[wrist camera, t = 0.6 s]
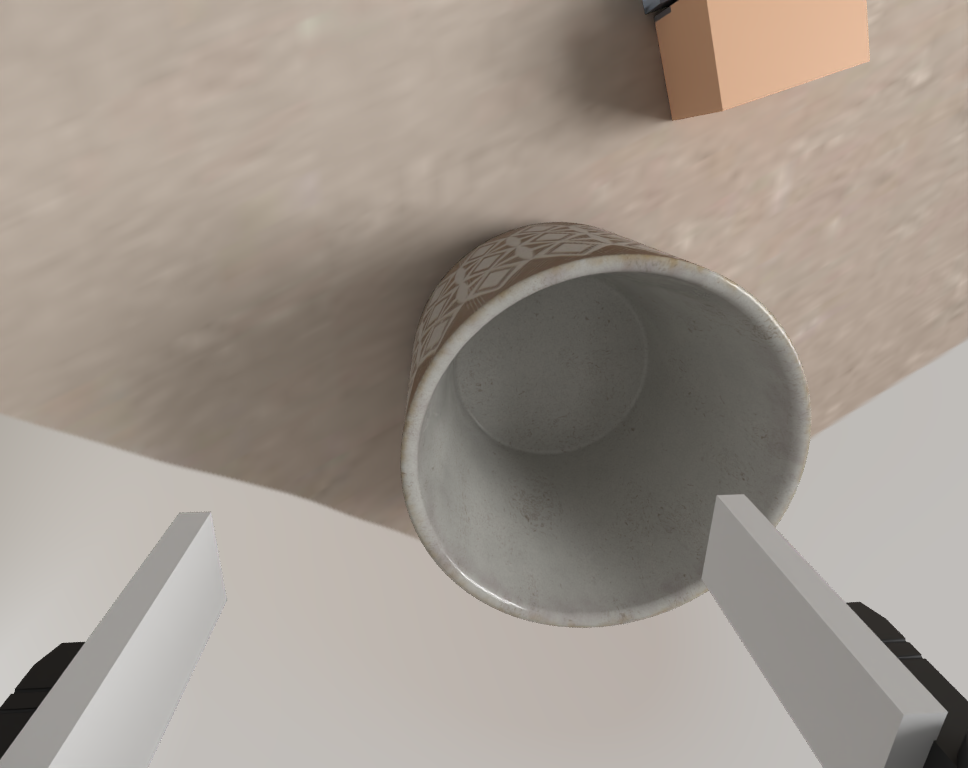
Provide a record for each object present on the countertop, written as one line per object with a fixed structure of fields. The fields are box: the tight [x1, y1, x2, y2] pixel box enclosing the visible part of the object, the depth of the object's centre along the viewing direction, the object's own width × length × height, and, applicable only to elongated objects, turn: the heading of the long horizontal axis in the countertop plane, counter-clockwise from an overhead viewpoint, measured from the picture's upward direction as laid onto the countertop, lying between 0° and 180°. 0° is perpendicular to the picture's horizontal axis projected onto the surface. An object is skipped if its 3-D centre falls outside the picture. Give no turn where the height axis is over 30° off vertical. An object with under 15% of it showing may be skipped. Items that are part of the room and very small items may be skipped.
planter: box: [400, 222, 811, 628], centre depth 35 cm, size 19×19×16 cm
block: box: [654, 0, 870, 121], centre depth 33 cm, size 6×8×7 cm
